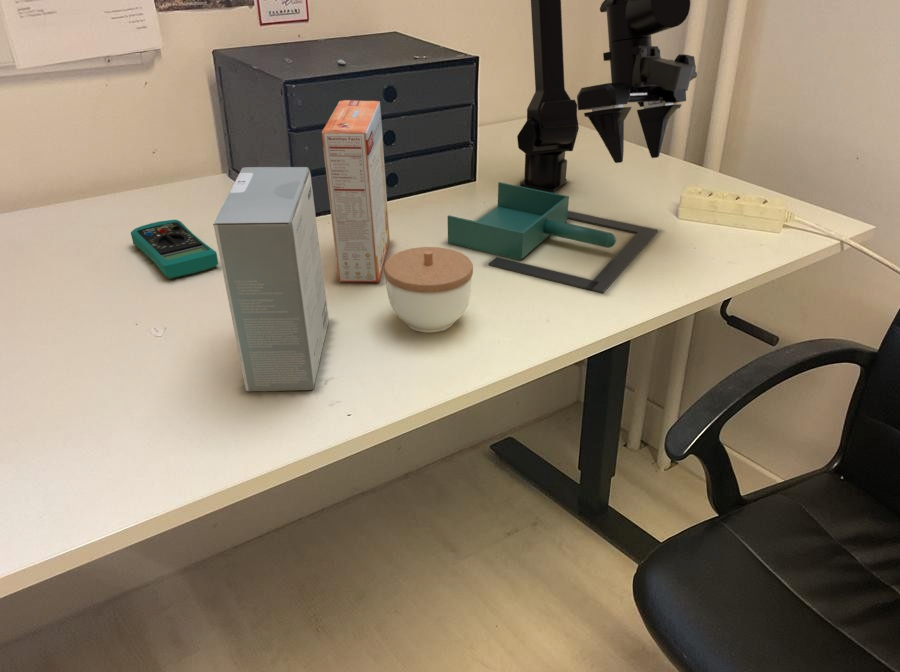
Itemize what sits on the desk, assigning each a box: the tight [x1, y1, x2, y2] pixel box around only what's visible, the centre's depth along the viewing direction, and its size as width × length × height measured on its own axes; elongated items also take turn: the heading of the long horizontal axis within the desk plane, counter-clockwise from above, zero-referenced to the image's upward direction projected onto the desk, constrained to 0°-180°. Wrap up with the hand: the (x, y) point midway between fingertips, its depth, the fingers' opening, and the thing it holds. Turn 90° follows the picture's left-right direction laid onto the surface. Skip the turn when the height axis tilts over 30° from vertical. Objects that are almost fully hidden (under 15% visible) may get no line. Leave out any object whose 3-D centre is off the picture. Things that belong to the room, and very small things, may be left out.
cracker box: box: [321, 99, 391, 283], centre depth 110 cm, size 14×6×21 cm, turn 1°
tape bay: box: [488, 210, 659, 294], centre depth 121 cm, size 18×24×1 cm
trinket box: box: [383, 246, 474, 334], centre depth 99 cm, size 11×11×9 cm
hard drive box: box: [212, 166, 330, 392], centre depth 89 cm, size 16×8×20 cm, turn 5°
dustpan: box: [447, 181, 617, 261], centre depth 122 cm, size 24×17×4 cm
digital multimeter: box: [130, 219, 219, 279], centre depth 114 cm, size 7×15×3 cm, turn 39°
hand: (637, 160), depth 114 cm, fingers open, 9 cm apart
